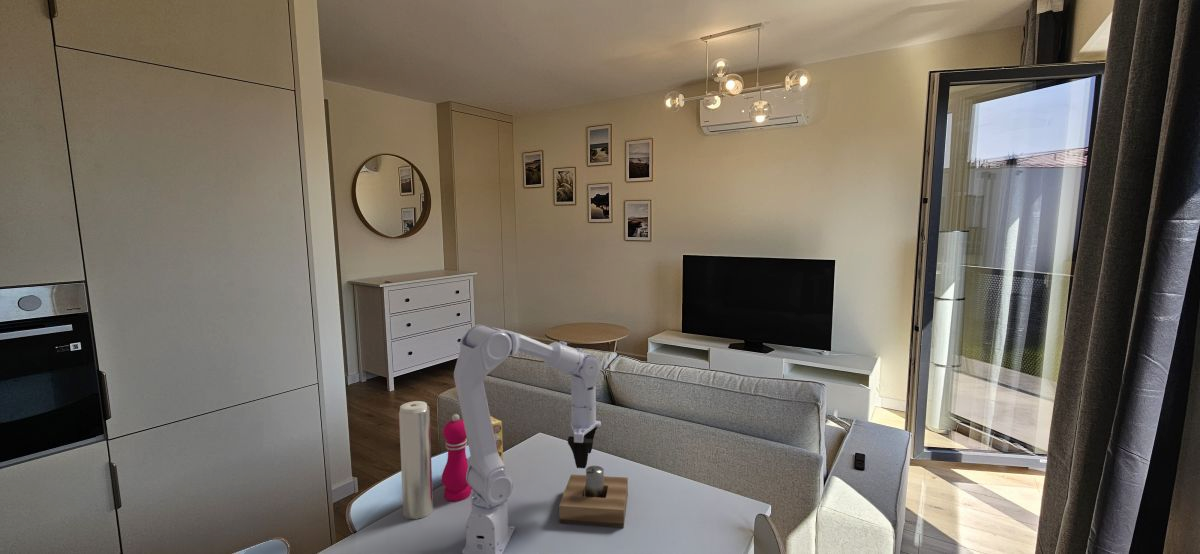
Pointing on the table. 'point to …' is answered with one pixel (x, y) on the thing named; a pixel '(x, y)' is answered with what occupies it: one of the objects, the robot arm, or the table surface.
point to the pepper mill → (455, 461)
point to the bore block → (594, 503)
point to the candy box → (498, 435)
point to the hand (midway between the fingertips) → (584, 459)
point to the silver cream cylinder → (416, 459)
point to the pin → (594, 481)
